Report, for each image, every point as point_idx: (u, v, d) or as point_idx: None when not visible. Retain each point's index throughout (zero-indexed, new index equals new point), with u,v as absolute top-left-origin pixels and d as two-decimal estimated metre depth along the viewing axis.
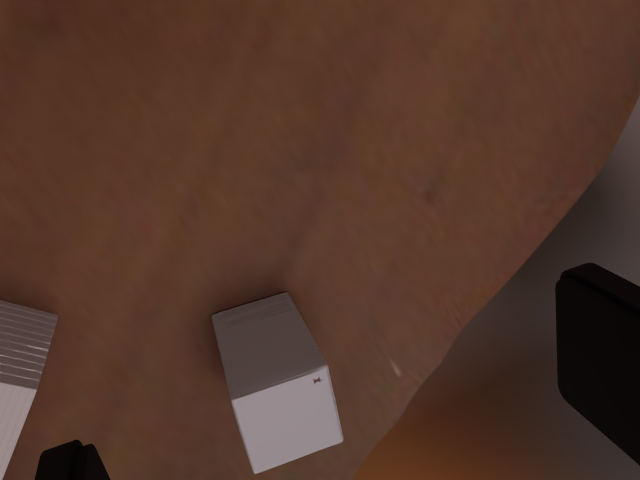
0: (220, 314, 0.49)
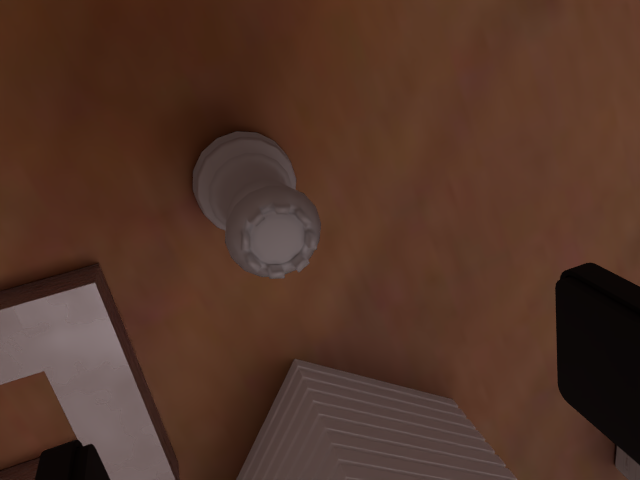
0: None
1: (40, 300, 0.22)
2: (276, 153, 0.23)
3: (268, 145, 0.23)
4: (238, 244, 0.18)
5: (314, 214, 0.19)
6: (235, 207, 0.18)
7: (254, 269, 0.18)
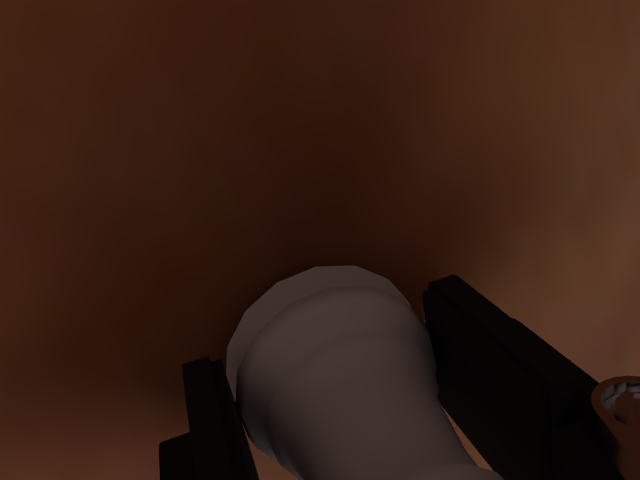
0: None
1: None
2: (406, 319, 0.11)
3: (389, 303, 0.11)
4: None
5: None
6: None
7: None
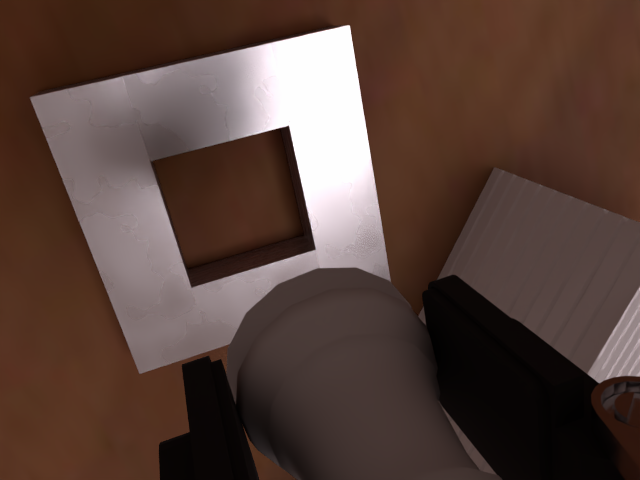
0: None
1: (297, 39, 0.21)
2: (407, 321, 0.11)
3: (390, 305, 0.11)
4: None
5: None
6: None
7: None
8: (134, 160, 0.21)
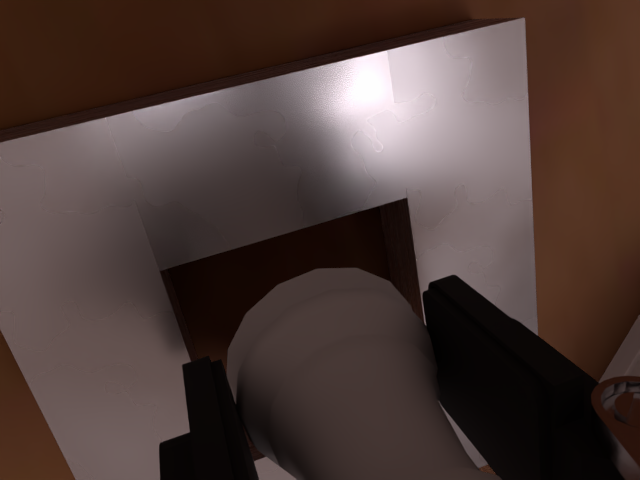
0: None
1: (432, 44, 0.11)
2: (407, 322, 0.11)
3: (390, 305, 0.11)
4: None
5: None
6: None
7: None
8: (130, 271, 0.11)
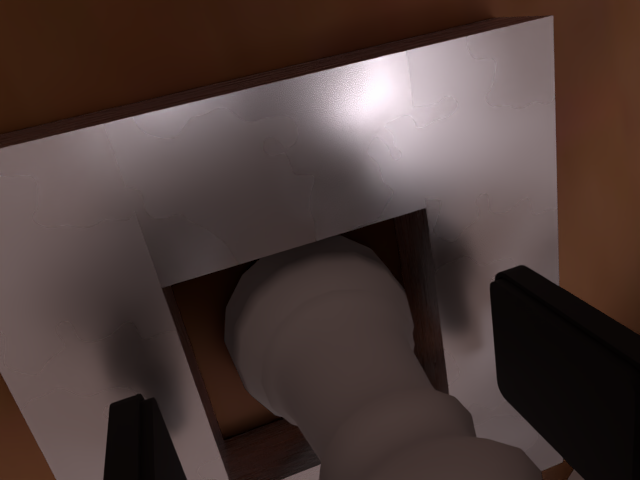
0: None
1: (455, 43, 0.11)
2: (385, 281, 0.12)
3: (370, 266, 0.12)
4: None
5: None
6: None
7: None
8: (130, 288, 0.10)
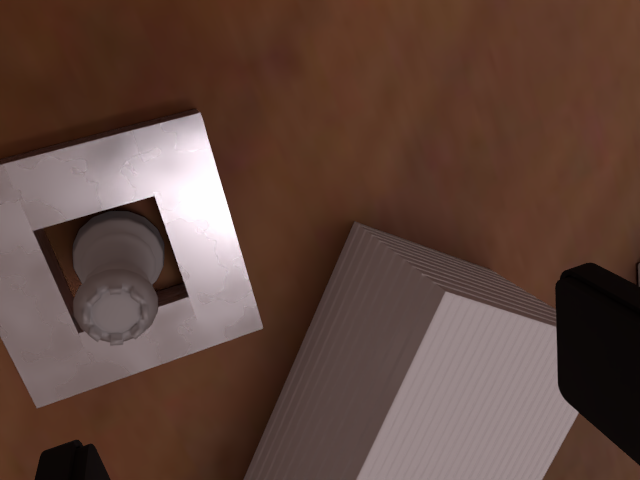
0: None
1: (154, 126, 0.26)
2: (141, 230, 0.27)
3: (134, 223, 0.27)
4: (82, 318, 0.22)
5: (149, 290, 0.23)
6: (80, 287, 0.22)
7: (95, 339, 0.22)
8: (18, 230, 0.25)
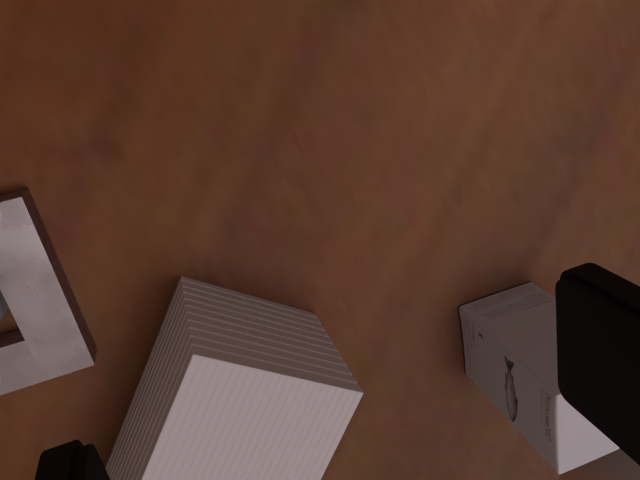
0: (469, 306, 0.46)
1: None
2: None
3: None
4: None
5: None
6: None
7: None
8: None
